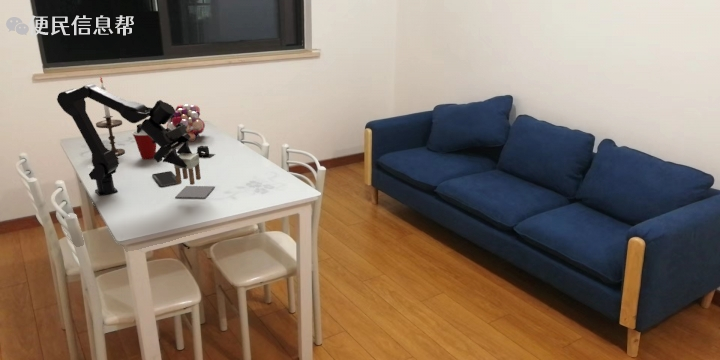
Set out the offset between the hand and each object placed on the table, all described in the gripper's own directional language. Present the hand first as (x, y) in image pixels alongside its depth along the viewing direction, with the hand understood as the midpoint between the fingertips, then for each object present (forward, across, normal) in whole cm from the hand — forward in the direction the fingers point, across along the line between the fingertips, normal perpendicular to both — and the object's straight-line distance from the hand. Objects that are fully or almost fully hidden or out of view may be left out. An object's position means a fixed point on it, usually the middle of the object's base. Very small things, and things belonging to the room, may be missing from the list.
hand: (190, 164), depth 200 cm
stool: (+4, 0, +6) cm, 7 cm away
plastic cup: (-20, +41, +38) cm, 59 cm away
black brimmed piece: (-3, +47, +22) cm, 52 cm away
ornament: (-18, +71, +36) cm, 82 cm away
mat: (+8, +4, +10) cm, 13 cm away
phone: (-4, +15, +23) cm, 28 cm away
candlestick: (-33, +44, +51) cm, 75 cm away
